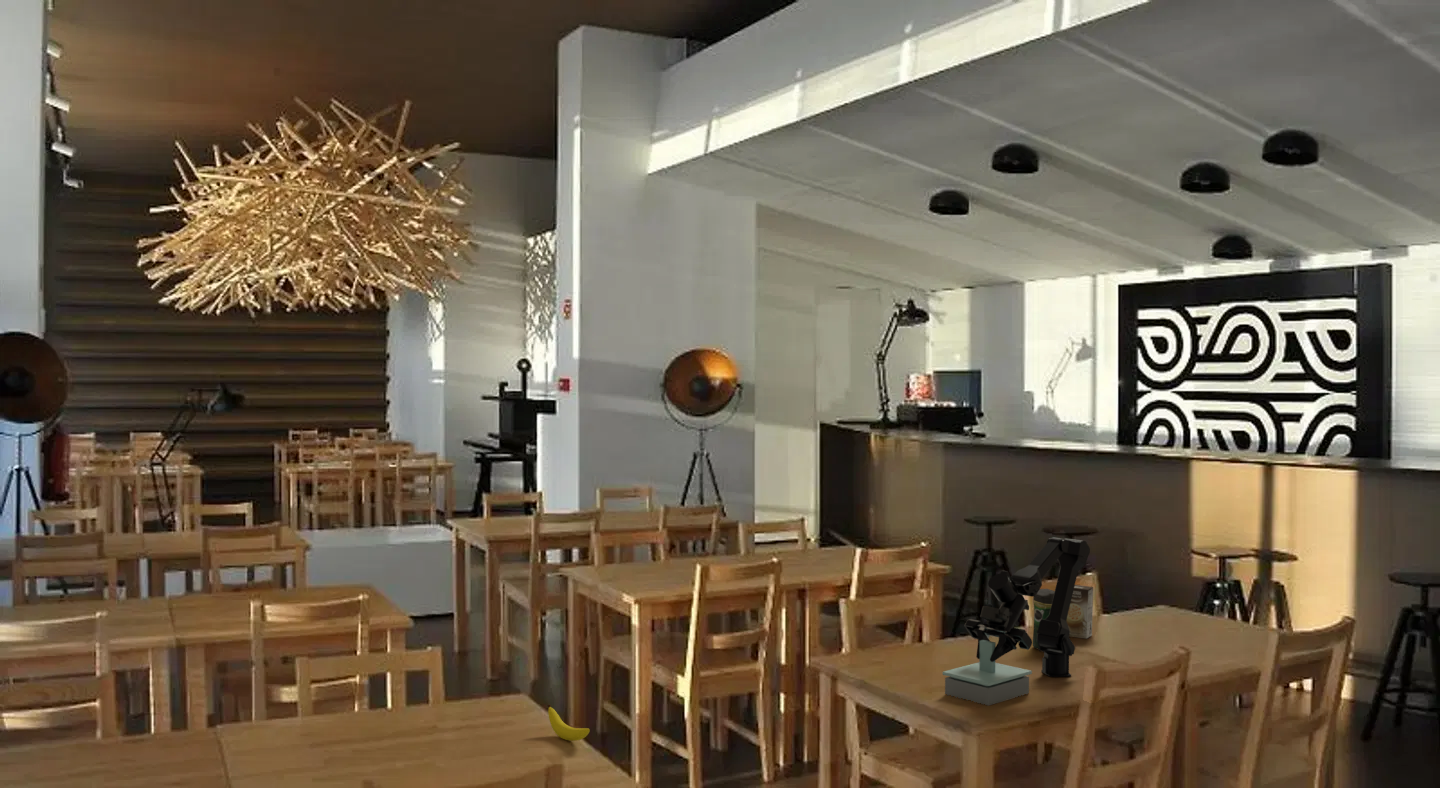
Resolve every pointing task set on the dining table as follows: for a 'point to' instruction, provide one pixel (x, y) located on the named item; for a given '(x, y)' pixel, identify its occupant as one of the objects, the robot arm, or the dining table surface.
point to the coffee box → (1081, 612)
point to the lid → (986, 669)
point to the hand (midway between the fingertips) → (984, 659)
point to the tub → (987, 690)
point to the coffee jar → (1041, 610)
